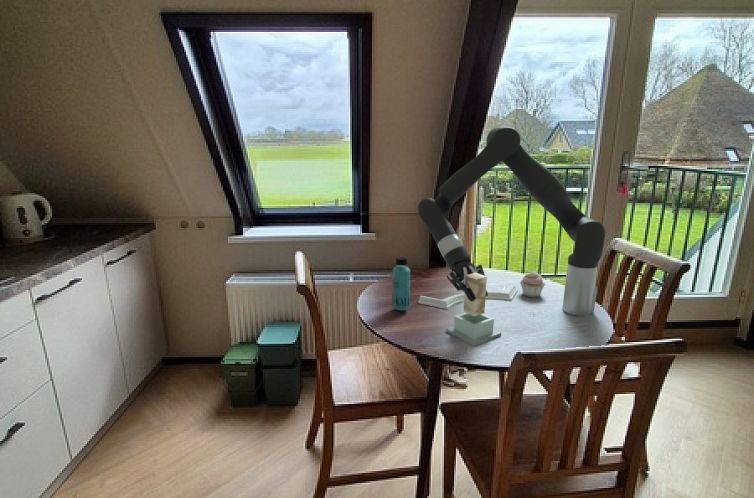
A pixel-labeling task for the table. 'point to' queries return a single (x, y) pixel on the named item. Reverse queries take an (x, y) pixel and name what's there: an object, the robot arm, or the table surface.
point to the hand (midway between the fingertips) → (479, 298)
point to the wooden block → (476, 294)
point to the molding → (453, 300)
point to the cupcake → (532, 284)
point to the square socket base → (473, 328)
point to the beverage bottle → (401, 285)
